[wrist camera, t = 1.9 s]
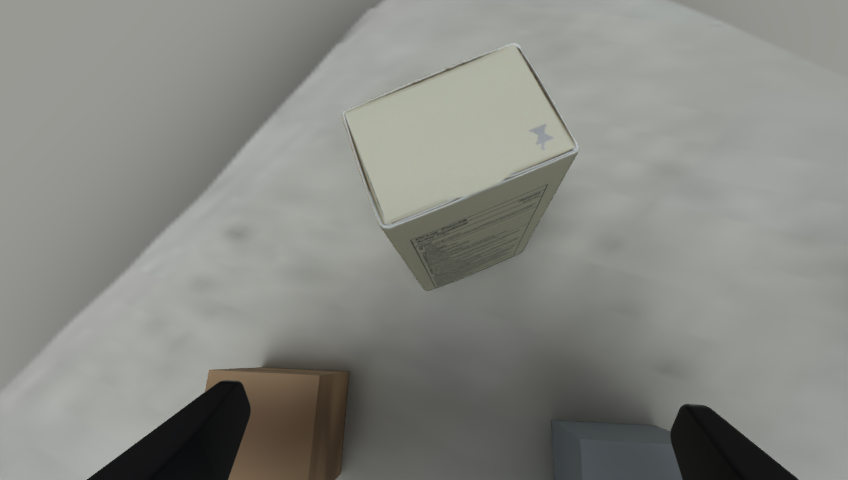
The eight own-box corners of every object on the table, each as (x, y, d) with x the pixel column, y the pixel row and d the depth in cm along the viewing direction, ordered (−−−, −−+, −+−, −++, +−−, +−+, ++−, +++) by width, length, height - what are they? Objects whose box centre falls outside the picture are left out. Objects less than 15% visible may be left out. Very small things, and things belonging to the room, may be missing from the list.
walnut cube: (340, 473, 20) (304, 509, 16) (247, 467, 21) (185, 499, 16) (349, 371, 22) (319, 375, 17) (262, 367, 22) (209, 370, 17)
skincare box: (493, 189, 24) (527, 31, 12) (524, 254, 23) (595, 146, 11) (393, 228, 24) (333, 105, 12) (419, 295, 23) (379, 230, 11)
